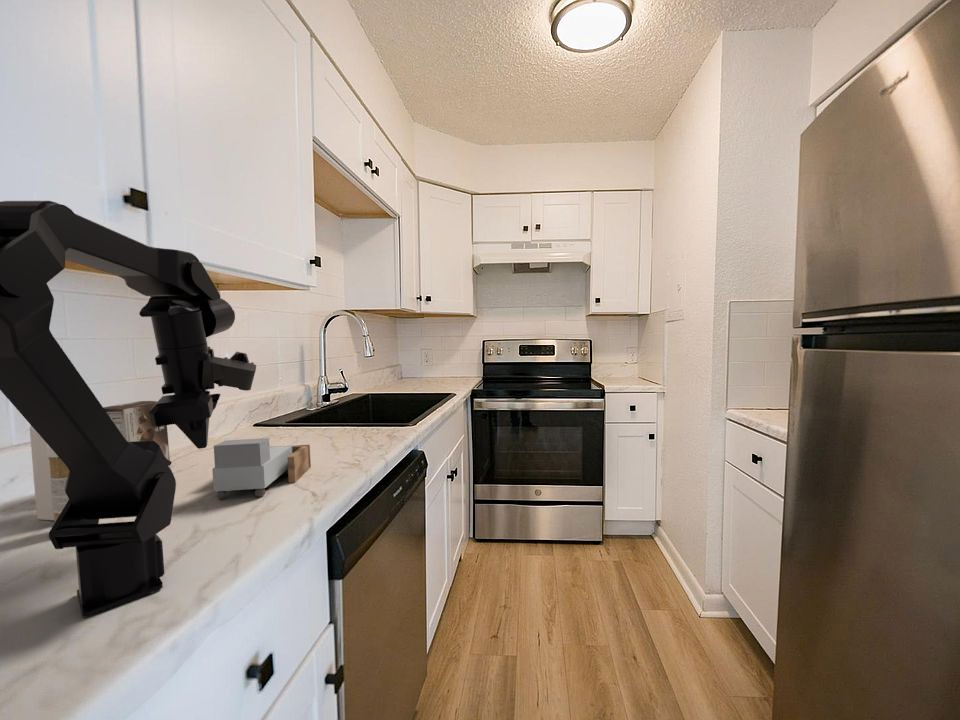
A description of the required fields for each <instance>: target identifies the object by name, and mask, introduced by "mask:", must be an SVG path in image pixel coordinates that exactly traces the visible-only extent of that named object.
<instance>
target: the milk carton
mask: <svg viewBox="0 0 960 720" xmlns="http://www.w3.org/2000/svg"><path fill="white" fill-rule="evenodd" d="M111 419H112V418H111ZM29 434H30V435H29V437H30V448H31V459H32V473H33V484H34V485H33V486H34V496H35V498H34V499H35V507H36V509H35V510H36V519H37V520H44V521H55V520H54V512H53V505H52V493H51V481H50V477H51V474H50V461H49V459H48V458H49V457H47V445H48V444H47V443H46V442H45V441H44V440H43V438H42V437H41V436H40V435H39V434H38V433H37V432H36V430H35V429H34V428H33V427H32V426H31V425H30V426H29Z"/></svg>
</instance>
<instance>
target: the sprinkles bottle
mask: <svg viewBox="0 0 960 720" xmlns="http://www.w3.org/2000/svg"><path fill="white" fill-rule="evenodd" d="M47 457H49V458H48V459H49V461H50V474H51V477H50V481H51V493H52V505H53V512H54V520H53V521H54V523H55V522H56V520H57V518H58V517H59V515H60V513H61V512H62V510H63V509H64V507H65V505H66V504H67V502H68V500H69V498H68V496H67V494H66V493H65V485H66V481H67V476H68V472H69V469H68V467H67V466H66V465H65V464H64V462H63V461H62V460H61V459H60V458H59V457H58V456H57V454H56V453H55V452H54V451H53V450H52V449H51V448H50V446H49V445H47Z"/></svg>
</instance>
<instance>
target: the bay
mask: <svg viewBox="0 0 960 720" xmlns="http://www.w3.org/2000/svg"><path fill="white" fill-rule="evenodd" d="M282 446H283V445H278V446H276V447H282ZM291 446H292V454H291V455H290V456H289V457H287V458H288V483H289V484H293V483H296V482H297V481H298V480H300V479H301V478H302V477H303V476H304V475H305V474H306V473H307V472H308V471H309V470H310V469H311V468H310V467H311V466H312V464H311V449H310V448H311V445H310V444H301V445H300V444H298V445H291ZM309 468H310V469H309ZM308 469H309V470H308ZM307 470H308V471H307ZM306 471H307V472H306ZM305 472H306V473H305ZM304 473H305V474H304ZM303 474H304V475H303ZM302 475H303V476H302Z"/></svg>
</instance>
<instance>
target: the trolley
mask: <svg viewBox="0 0 960 720" xmlns="http://www.w3.org/2000/svg"><path fill="white" fill-rule="evenodd" d="M281 446H282V447H277V446H270V437H267V438H263V437H262V438H261V437H259V438H246V439H245V438H244V439H243V438H242V439H228V440H227V439H225V440H223V441H220V442H219V443H217V444H214V445H213V454H214V455H213V456H214V467H213V468H212V484H213V485H212V486H213V492H217V493H216V498H217V499H218V500H224V499H226V498H227V497H228V492H227V491H241V490H244V491H245V490H255V491H254V494H255V496H256V497H259V498H261V497H264V495H265V494H266V489H265V488H267V487H268V486H270V485H271V484H272V483H273V482H275V480H277V479H278V478H279V477H280V476H282V475H283V474H285V475H287V474H288V458H287V457H289V456H290V455H291V454H292V446H293V445H281Z"/></svg>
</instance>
